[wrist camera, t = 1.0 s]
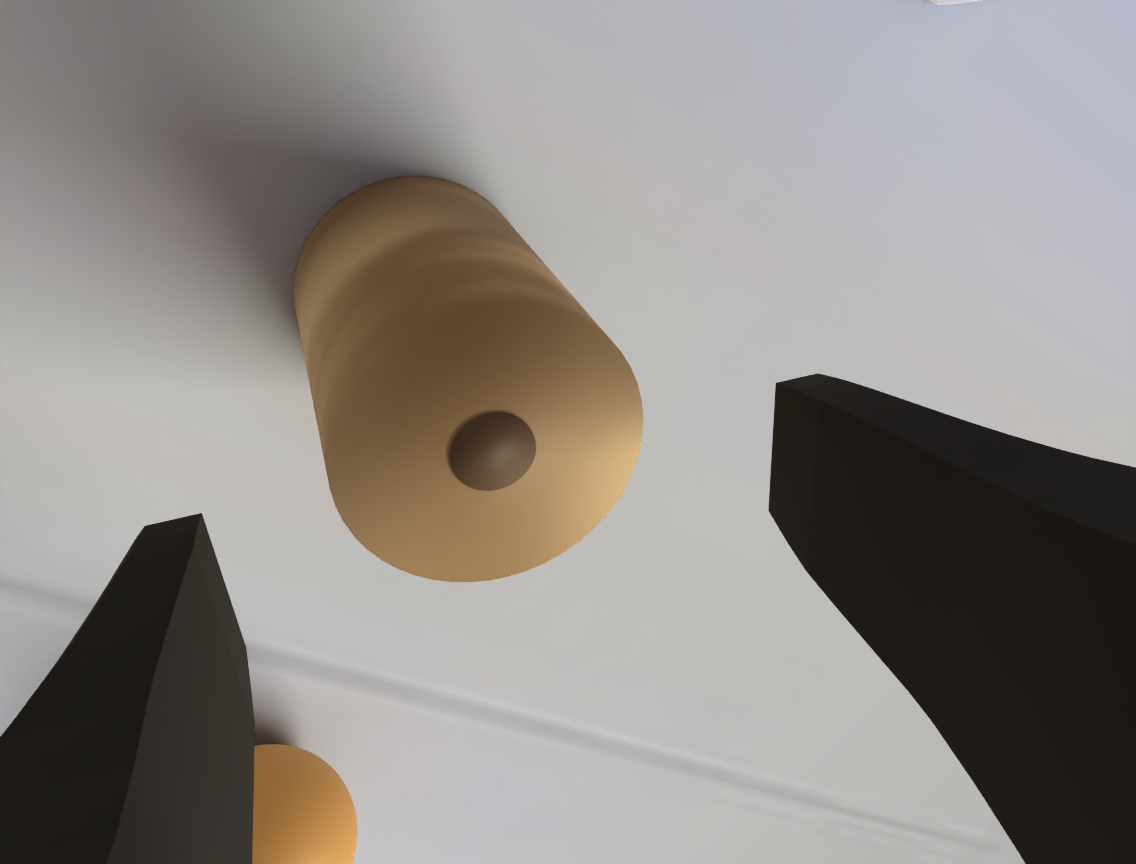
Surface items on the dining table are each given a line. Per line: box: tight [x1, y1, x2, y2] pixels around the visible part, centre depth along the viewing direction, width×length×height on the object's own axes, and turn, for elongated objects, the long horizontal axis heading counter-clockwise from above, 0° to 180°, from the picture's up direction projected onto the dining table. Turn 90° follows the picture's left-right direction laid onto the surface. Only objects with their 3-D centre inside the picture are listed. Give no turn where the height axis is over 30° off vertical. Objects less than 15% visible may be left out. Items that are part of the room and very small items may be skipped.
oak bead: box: [294, 176, 643, 582], centre depth 15 cm, size 4×4×6 cm
